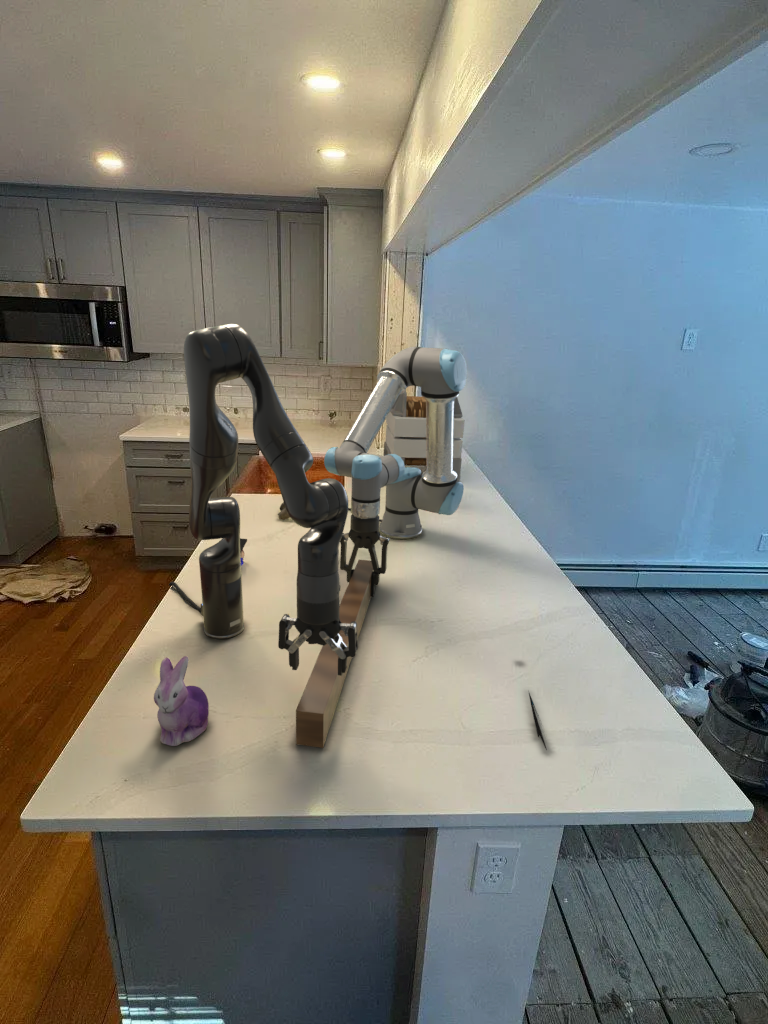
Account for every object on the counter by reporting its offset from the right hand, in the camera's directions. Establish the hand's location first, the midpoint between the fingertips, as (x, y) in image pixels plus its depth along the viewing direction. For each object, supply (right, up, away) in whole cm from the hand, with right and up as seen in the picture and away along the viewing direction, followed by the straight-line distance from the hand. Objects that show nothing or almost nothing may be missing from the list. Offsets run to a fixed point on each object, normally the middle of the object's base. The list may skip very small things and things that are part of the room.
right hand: (362, 593), depth 156 cm
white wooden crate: (+23, +41, +119) cm, 128 cm away
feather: (+36, -17, -40) cm, 56 cm away
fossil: (-27, +22, +60) cm, 70 cm away
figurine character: (-39, +5, +12) cm, 41 cm away
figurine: (-31, -18, -52) cm, 63 cm away
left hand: (-6, -7, -51) cm, 52 cm away
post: (-3, -9, -24) cm, 25 cm away
